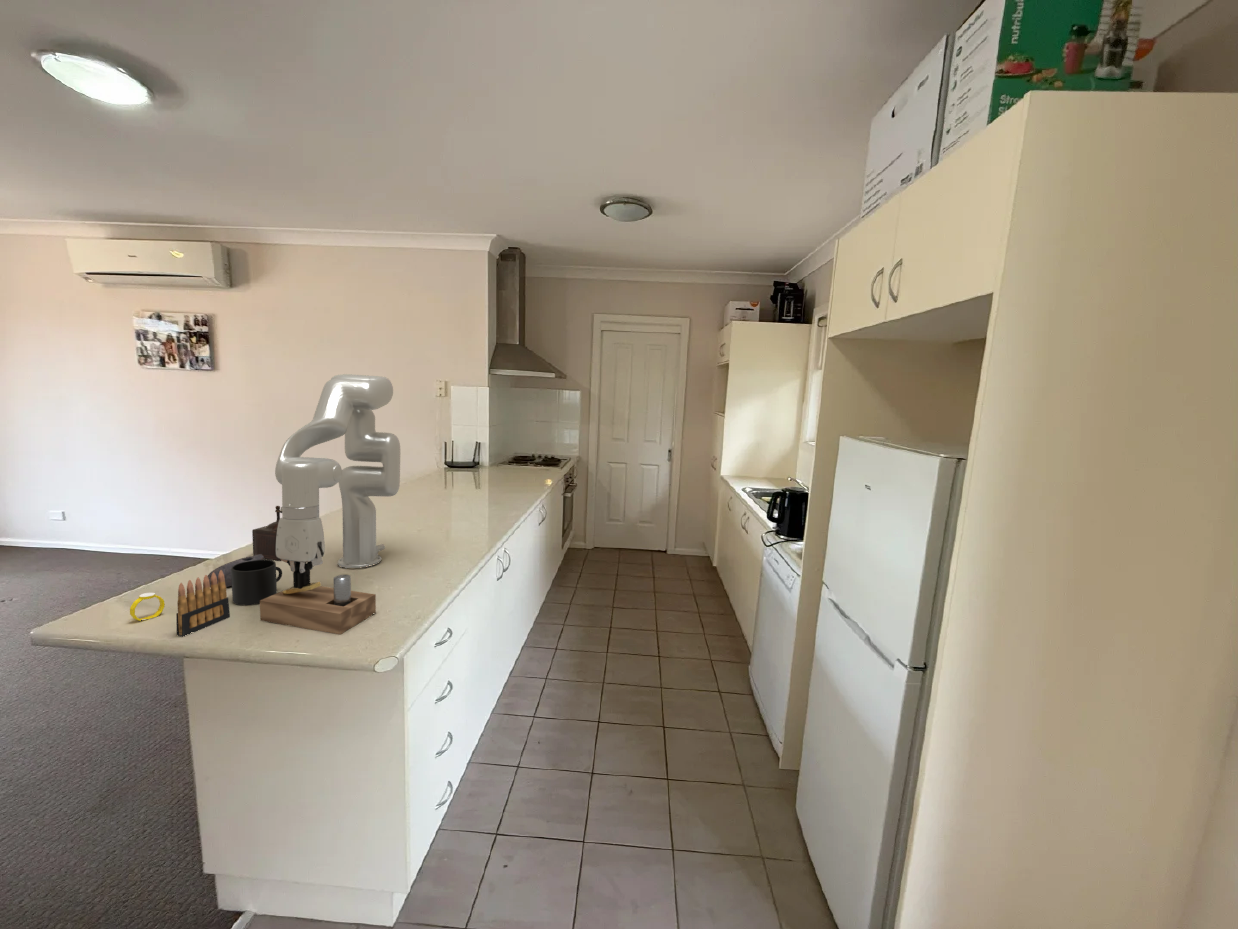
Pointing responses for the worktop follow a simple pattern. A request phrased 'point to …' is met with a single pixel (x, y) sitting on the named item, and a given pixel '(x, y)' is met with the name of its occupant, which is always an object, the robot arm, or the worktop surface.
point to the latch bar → (305, 588)
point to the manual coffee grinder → (266, 539)
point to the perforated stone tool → (227, 567)
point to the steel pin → (342, 590)
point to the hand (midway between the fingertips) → (301, 586)
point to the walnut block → (317, 609)
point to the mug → (254, 581)
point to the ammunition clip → (202, 604)
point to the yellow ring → (143, 597)
